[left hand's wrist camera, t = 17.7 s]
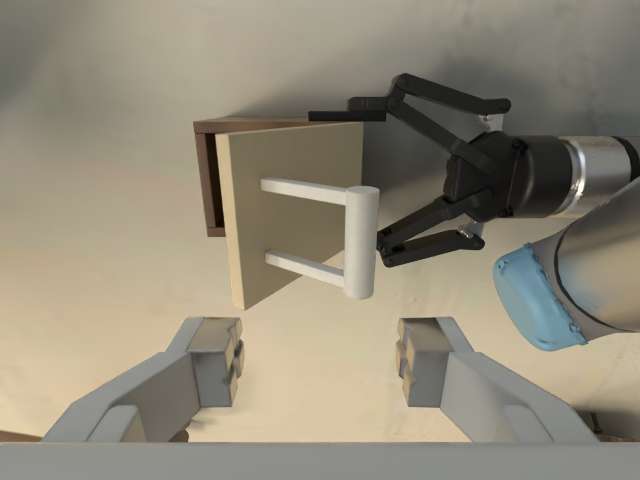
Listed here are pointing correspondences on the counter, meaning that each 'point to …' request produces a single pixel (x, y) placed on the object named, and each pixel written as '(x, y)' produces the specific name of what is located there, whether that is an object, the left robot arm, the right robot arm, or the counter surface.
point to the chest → (209, 157)
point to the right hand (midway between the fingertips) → (309, 177)
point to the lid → (297, 209)
